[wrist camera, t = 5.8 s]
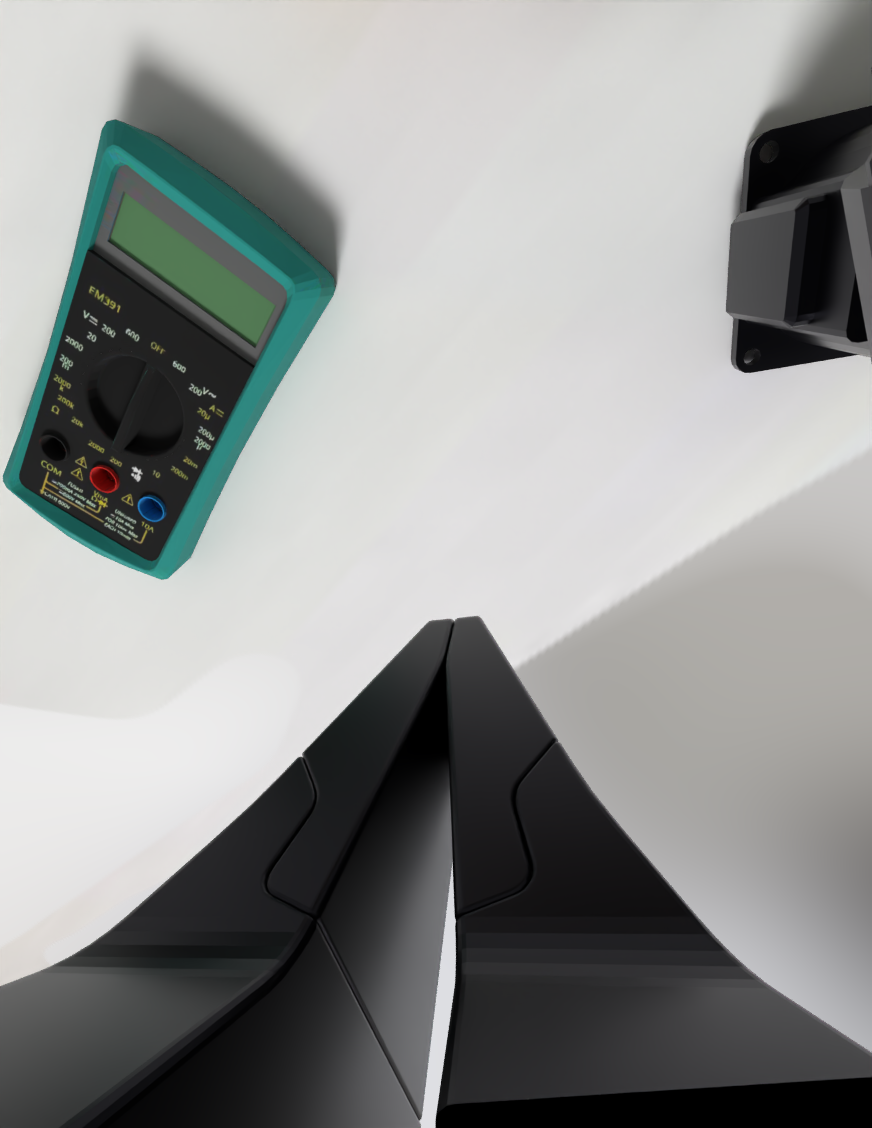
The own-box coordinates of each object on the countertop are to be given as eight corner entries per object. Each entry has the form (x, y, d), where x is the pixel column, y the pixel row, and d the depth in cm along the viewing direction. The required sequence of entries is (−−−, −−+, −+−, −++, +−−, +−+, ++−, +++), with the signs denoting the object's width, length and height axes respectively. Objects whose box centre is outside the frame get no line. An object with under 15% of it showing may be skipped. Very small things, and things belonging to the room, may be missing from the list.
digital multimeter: (38, 476, 23) (-19, 501, 21) (154, 122, 17) (92, 95, 14) (188, 566, 25) (154, 600, 22) (348, 276, 18) (325, 277, 16)
